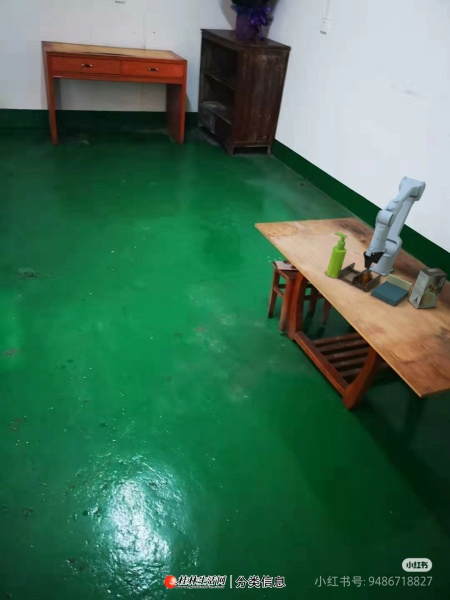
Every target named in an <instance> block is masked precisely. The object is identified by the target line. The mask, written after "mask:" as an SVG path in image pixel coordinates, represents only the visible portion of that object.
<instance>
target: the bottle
mask: <svg viewBox="0 0 450 600" xmlns="http://www.w3.org/2000/svg"><path fill="white" fill-rule="evenodd" d="M366 269H367V268H366ZM373 277H374V274H373V271H372V270H371V269H370V268H369V269H367V271H366V272H364V273H363V276H362V279H361V280H360V281H359V283H360V285H361V286H363V287H366V284H367V283H368V282H370V281H371V279H372V278H373Z"/></svg>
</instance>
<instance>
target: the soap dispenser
mask: <svg viewBox="0 0 450 600" xmlns="http://www.w3.org/2000/svg"><path fill="white" fill-rule="evenodd" d="M334 235H335V236H339V237H340V239H339V240H338V241H337V243H336V245H335V246H333V248H332V250H331V255H330V259H329V263H328V267H327V271H326V275H327V276H329V277H331V278H335V279H336V278H337V279H338V275H339V271H340V270H342V269H343V265H344V262H345V259H346V258H345V257H346V254H347V249H346V241H345V239H347V238H348V235H346V234H344V233H342V232H337V231H336V232H334Z"/></svg>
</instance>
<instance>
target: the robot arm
mask: <svg viewBox="0 0 450 600" xmlns="http://www.w3.org/2000/svg"><path fill="white" fill-rule="evenodd" d="M426 187H427V183H426V182H425V181H421V180H418V179H415V178H411V177H407V176H403V177H402V178H401V180H400V182H399V185H398V193H397V195H396V197H395V198H392V199H390V201H389V202H388V203H387V204H386V206H385V207H384V208H383V209H380V210H379V211H378V213H377V215H376V218H375V225H374V226H375V228H374V231H373V235H372V238H371V241H370V244H369V245H368V249H367V250H365V251H364V252H363V254H362V255H363V259H364V268H365V269H371V270H372V271H371V272H375V273H377V274H379V275H382V276H384V277H385V276H388V274H391V272H392V271H394V268H393V265H394V263H395V259H396V257H397V256H399V253H400V251H401V248H402V245H403V240H402V238H401V237H400V234H401V231H402V229H403V227H404V225H405V223H406V220H407V219H408V216H409V214H410V212H411V209H412V207H413V205H414V204H415V202H419V201H420V200H421V198H422V196H423V195H424V192H425V190H426ZM372 264H373V266H372Z"/></svg>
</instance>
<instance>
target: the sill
mask: <svg viewBox="0 0 450 600" xmlns="http://www.w3.org/2000/svg"><path fill="white" fill-rule="evenodd" d="M386 276H387V277H386V280H385V281H384V282H382V283H381V284H380V285H378V286H377V287H375V288H374V289H372V290H371V293H370V296H371V297H373V298H376V299H377V300H380V301H382V302H384V303H386V304H388V305H390V306H393V307H395V306H397V305H398V304H399V303H400V302H402V301H403V300H404V299H406V297H408V296H409V294H410V291H411V289H412V287H413V283H411V282H410V281H407V280H405V279H403V278H401V277H398V276H396V275H394V274H393V273H392V274H391V273H388V274H387V275H386Z"/></svg>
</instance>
